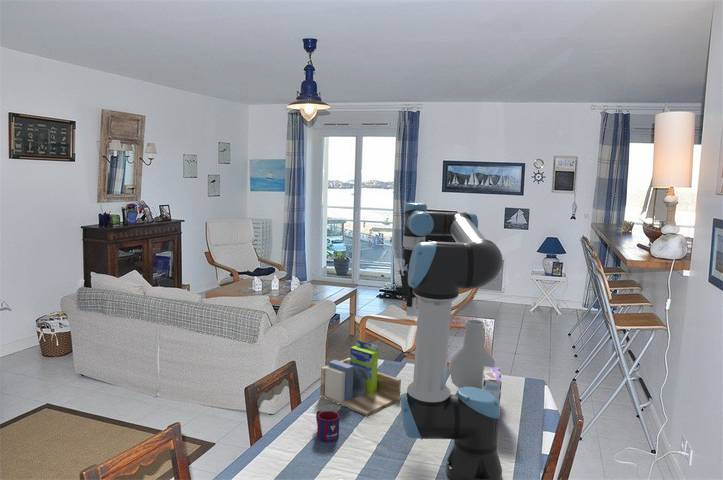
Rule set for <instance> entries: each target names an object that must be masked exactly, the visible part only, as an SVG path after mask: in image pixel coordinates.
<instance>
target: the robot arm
mask: <svg viewBox="0 0 723 480" xmlns="http://www.w3.org/2000/svg"><path fill="white" fill-rule="evenodd" d="M403 214H404V218H403V219H404V222H403V223H404V224H403V226H404V227H403V240H402V247H403V248H402V259H403V260H404V265H403V268H402V269H399V270H398V271H399V272H398V273H399V275H400V279H401V280H400V281H401V291H402V296H403V297H405V298H406V313H405V314H406V316H409V317H415V316H416V307H417V317H416V319H417V321H416V335H415V350H414V351H415V353H414V367H413V368H414V369H413V381H412V382H411V383H409V384H408V385H407V388H406V392H404V393H400V395H401V399H400V407H401V417H402V423H403V425H402V426H403V430H404V433H405V436H407V437H408V438H409V439H418V440H419V439H420V440H453V445H452V447H451V450H450V451H449V454H448V457H447V459H446V463H445V473H446V475H447V476H448V477H449V479H451V480H502V479H503V477H502V476H503V468H502V465H501V464H502V463H501V460H500V457H499V453H498V442H499V440H498V439H499V427H500V426H499V425H500V419H501V406H500V405H501V402H500V403H499V401H498V399H497V398H496V397H495V396H494V395H493V394H491V393H489V392H487V391H485V390H482V389H479V388H475V387H462V388H457V391H456V393H455V394H451V390H450V388H449V387H448V386H447V385H446V380H447V370H448V356H449V355H448V354H449V345H450V331H451V329H450V328H451V319H452V306H453V305H452V304H453V301H454V300H456V299H457V298H458V297H459V292H460V289H477V288H482V287H484V286H487V285H488V284H490V283H491V282H492V281H493V280H495V279H496V277H497V276H498V275H499V273H500V272H501V269H502V267H503V254H502V252H501V250H500V248H499V247H498V246H497V244H496V243H495V242H493V241H492V240H490V239H486V237H485V236H484V235H483V233H482V232H481V231H480V230H479V220H478V216H477V214H475V213H472V212H471V213H470V212H467V211H465V212H453V211H452V212H450V211H449V212H447V211H445V212H444V211H428V206H427V204H426V203H423V202H407V203H406V204H405V206H404V213H403ZM427 236H449V237H452V238H453V240H454V241H455V242H453V241H451V242H447V241H433V240H432V241H426V237H427ZM497 278H498V277H497ZM417 298H418V302H417ZM417 303H418V306H417Z"/></svg>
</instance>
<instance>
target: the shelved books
mask: <svg viewBox="0 0 723 480" xmlns="http://www.w3.org/2000/svg"><path fill="white" fill-rule="evenodd" d="M340 361H341V360H338V359H334V360H333V359H332V360H331V361H328V365H329V366H328V367H325V396H328V397H330V398H333V399H335V400H338V401H340V402H342V401H344V400H345V401H347V400H350V399H352V393H353V366H352V365H349V364H346V363H343V362H340Z"/></svg>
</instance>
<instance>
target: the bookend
mask: <svg viewBox="0 0 723 480" xmlns="http://www.w3.org/2000/svg"><path fill="white" fill-rule="evenodd" d="M365 388H366V378H363V377H360V376H357V375H354V374H353V393H352V398H355V399H356V398H358V397H360V396H363V395H365Z"/></svg>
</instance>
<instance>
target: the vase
mask: <svg viewBox="0 0 723 480" xmlns="http://www.w3.org/2000/svg"><path fill="white" fill-rule="evenodd" d="M484 325H485V322H484V321H482V320H478V319H466V320H465V325H464V326H465V329H464V336H463V341H462V345H460V347H459V348H457V349H456V350H455V351H454V352H453V353H452V354H451V355H450V359H449V365H448V369H449V374H450V375H449V376H450V379H451V382H452V384H453V385H454V386H455V387H456V388H457V389H459V388H462V387H475V388H479V389H482V375H483V366H490V367H496V366H495V360H494V357H492V355H491V354H490V353H489V352H488V351H487V349H486V348H485V343H484V340H485V339H484V329H485V327H484Z"/></svg>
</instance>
